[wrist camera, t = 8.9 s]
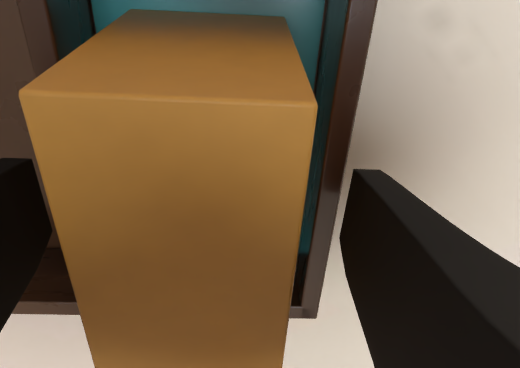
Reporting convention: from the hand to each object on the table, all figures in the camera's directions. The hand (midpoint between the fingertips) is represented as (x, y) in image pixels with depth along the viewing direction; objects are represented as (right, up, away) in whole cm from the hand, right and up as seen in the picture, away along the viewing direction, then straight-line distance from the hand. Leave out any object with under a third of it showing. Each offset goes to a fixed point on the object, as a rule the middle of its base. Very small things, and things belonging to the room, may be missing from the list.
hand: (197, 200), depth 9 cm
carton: (0, +2, +3) cm, 3 cm away
